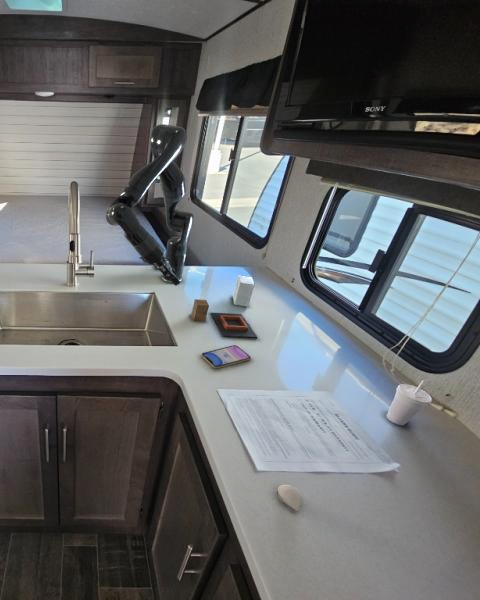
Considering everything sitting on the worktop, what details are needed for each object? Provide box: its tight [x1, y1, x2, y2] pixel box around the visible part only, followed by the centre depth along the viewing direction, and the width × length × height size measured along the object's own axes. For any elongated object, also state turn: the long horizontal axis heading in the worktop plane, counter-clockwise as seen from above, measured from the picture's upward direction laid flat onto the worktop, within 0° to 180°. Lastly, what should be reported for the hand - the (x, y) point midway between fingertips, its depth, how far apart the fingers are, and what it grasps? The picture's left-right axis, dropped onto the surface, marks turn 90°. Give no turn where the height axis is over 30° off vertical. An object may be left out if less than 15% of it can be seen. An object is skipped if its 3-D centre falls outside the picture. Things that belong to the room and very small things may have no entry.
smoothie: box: [386, 379, 433, 426], centre depth 81 cm, size 6×6×14 cm
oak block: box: [190, 298, 210, 323], centre depth 125 cm, size 4×4×8 cm
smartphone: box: [200, 344, 252, 369], centre depth 105 cm, size 8×15×1 cm, turn 110°
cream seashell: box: [276, 483, 302, 512], centre depth 65 cm, size 4×5×2 cm
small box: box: [232, 275, 255, 307], centre depth 137 cm, size 8×6×10 cm
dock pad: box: [210, 312, 258, 340], centre depth 122 cm, size 16×12×2 cm
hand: (175, 278), depth 119 cm, fingers open, 8 cm apart
